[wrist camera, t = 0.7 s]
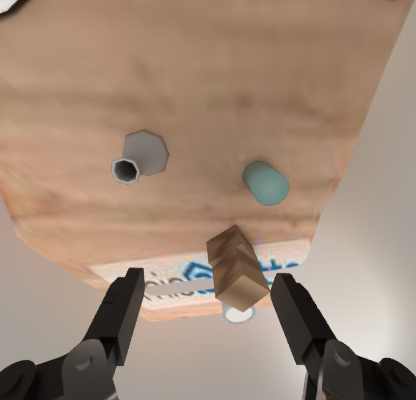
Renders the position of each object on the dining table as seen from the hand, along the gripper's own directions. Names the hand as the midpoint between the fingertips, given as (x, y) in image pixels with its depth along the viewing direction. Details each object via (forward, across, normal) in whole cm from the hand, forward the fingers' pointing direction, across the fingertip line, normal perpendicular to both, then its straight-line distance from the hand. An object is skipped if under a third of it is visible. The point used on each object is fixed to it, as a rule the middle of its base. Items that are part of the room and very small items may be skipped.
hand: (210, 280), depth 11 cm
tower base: (+23, -7, +16) cm, 29 cm away
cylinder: (+23, -10, 0) cm, 25 cm away
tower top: (+17, -7, +16) cm, 24 cm away
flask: (+23, +9, -2) cm, 25 cm away
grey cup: (+23, -10, +28) cm, 37 cm away
